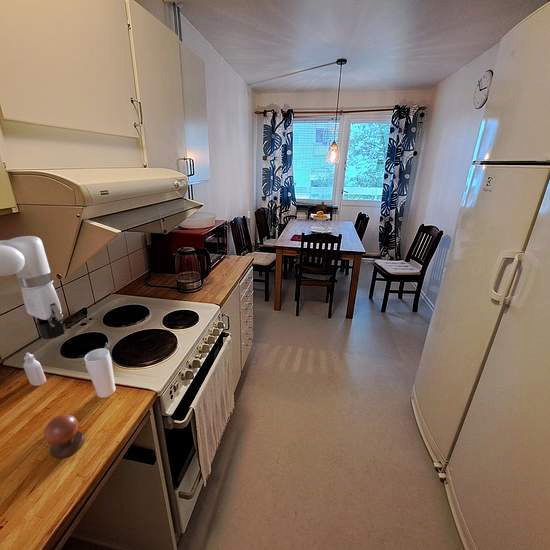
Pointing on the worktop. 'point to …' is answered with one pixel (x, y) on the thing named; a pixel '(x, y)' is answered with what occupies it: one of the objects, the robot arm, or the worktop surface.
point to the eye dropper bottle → (33, 370)
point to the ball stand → (63, 436)
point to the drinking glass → (101, 371)
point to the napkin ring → (45, 328)
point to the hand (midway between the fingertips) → (52, 332)
